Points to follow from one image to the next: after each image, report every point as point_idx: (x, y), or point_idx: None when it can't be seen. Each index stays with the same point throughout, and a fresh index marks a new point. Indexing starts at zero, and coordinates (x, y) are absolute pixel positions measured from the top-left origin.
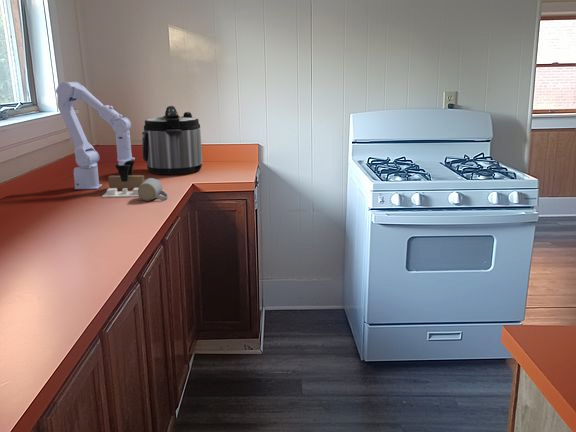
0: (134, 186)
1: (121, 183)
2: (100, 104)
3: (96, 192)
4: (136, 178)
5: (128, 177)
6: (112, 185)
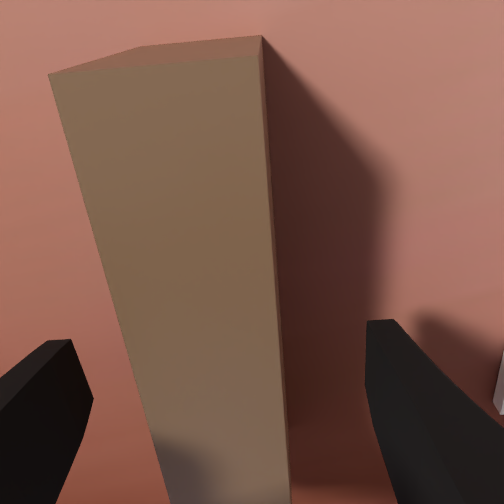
0: (271, 189)
1: (283, 377)
2: None
3: None
4: (269, 200)
5: (280, 355)
6: (288, 441)
